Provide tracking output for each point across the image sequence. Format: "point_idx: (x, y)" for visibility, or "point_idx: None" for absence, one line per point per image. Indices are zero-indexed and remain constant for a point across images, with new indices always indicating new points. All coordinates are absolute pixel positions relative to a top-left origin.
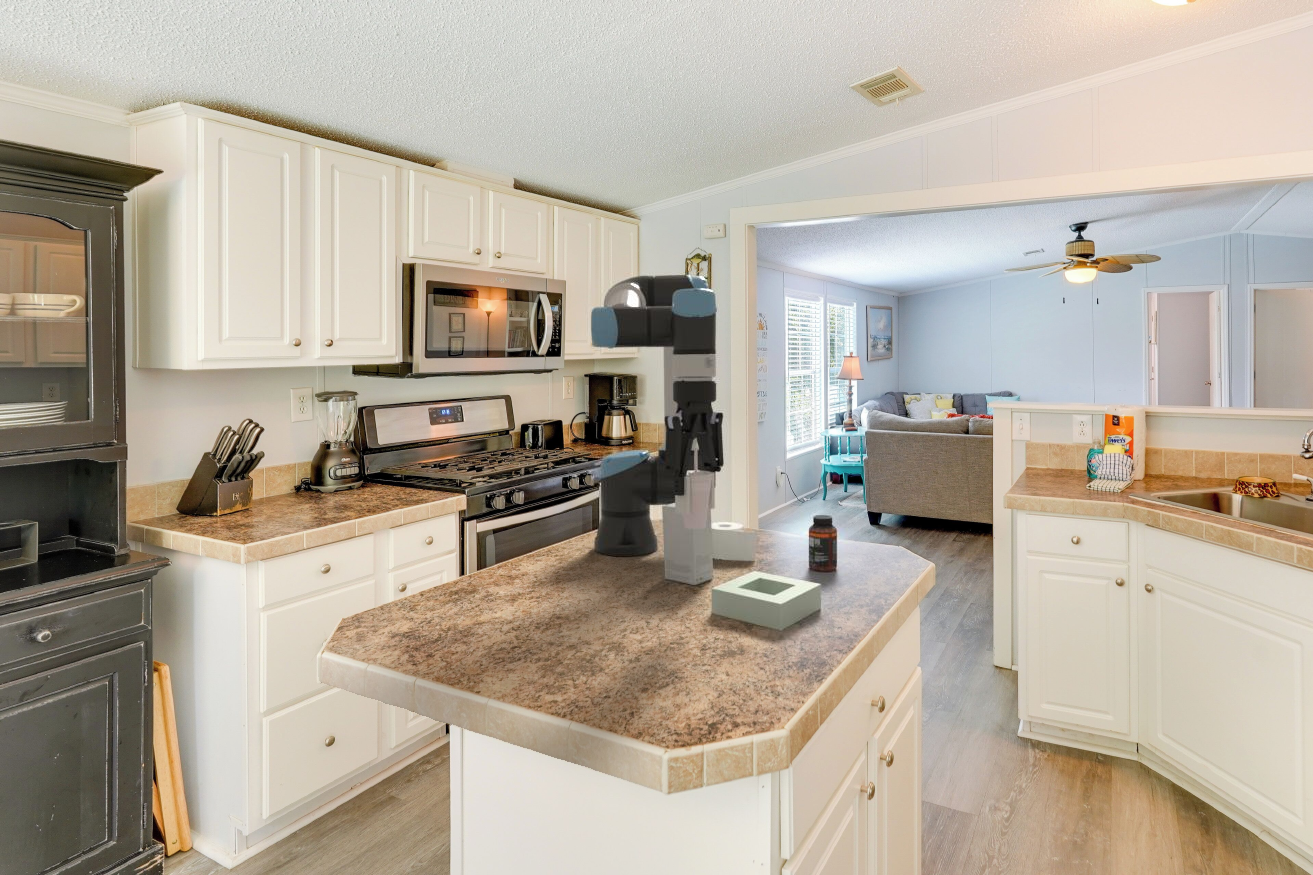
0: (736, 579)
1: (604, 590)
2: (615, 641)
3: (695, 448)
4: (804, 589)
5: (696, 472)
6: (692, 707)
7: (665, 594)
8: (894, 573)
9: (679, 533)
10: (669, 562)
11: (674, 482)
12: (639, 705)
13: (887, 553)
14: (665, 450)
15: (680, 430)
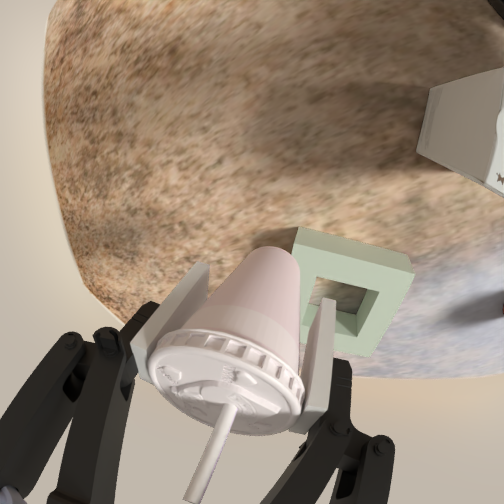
0: (358, 263)
1: (314, 20)
2: (150, 165)
3: (184, 498)
4: (340, 347)
5: (209, 408)
6: (113, 283)
7: (351, 121)
8: (491, 360)
9: (459, 126)
10: (438, 96)
11: (123, 331)
12: (94, 252)
13: None
14: (18, 392)
15: (27, 486)
